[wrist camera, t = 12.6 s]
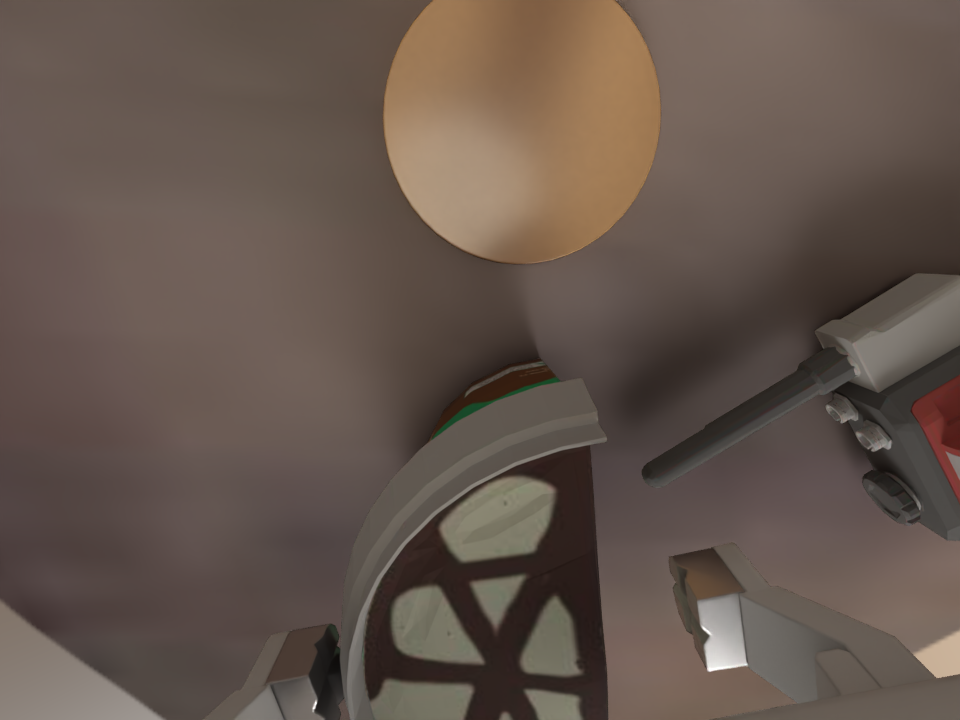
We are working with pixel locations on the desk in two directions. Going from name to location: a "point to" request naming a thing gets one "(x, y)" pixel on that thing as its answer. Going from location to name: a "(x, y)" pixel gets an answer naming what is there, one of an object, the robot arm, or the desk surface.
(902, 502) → the walkie-talkie
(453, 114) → the cork coaster
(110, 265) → the desk surface
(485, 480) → the food container
